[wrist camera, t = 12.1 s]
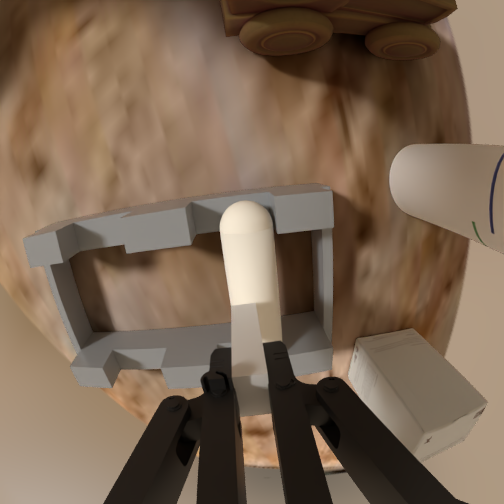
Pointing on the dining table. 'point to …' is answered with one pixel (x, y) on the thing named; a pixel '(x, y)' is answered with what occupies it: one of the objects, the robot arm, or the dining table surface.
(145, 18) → the dining table surface
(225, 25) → the wooden toy train
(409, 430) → the skincare box
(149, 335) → the grey notched frame
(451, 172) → the cylindrical container
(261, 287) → the cream round-ended rod
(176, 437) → the robot arm
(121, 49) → the dining table surface
